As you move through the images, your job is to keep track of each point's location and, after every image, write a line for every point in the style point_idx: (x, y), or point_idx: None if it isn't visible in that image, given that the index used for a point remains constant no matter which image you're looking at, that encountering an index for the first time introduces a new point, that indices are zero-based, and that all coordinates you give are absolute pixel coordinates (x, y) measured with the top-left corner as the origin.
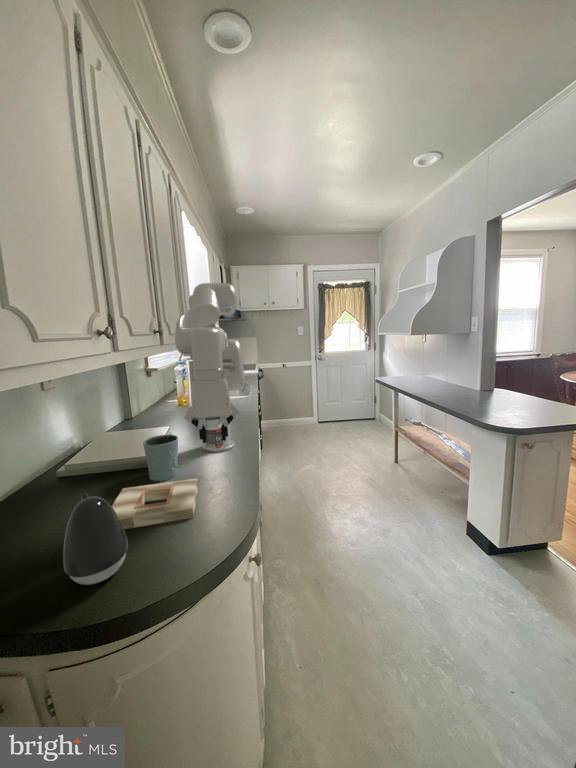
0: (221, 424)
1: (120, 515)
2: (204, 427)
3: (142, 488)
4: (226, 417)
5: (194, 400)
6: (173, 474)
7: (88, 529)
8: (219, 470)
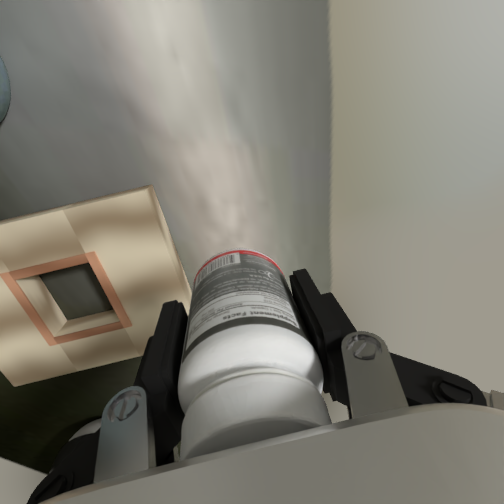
0: (319, 369)
1: (37, 365)
2: (176, 394)
3: None
4: (400, 397)
5: None
6: (1, 102)
7: None
8: (190, 47)
